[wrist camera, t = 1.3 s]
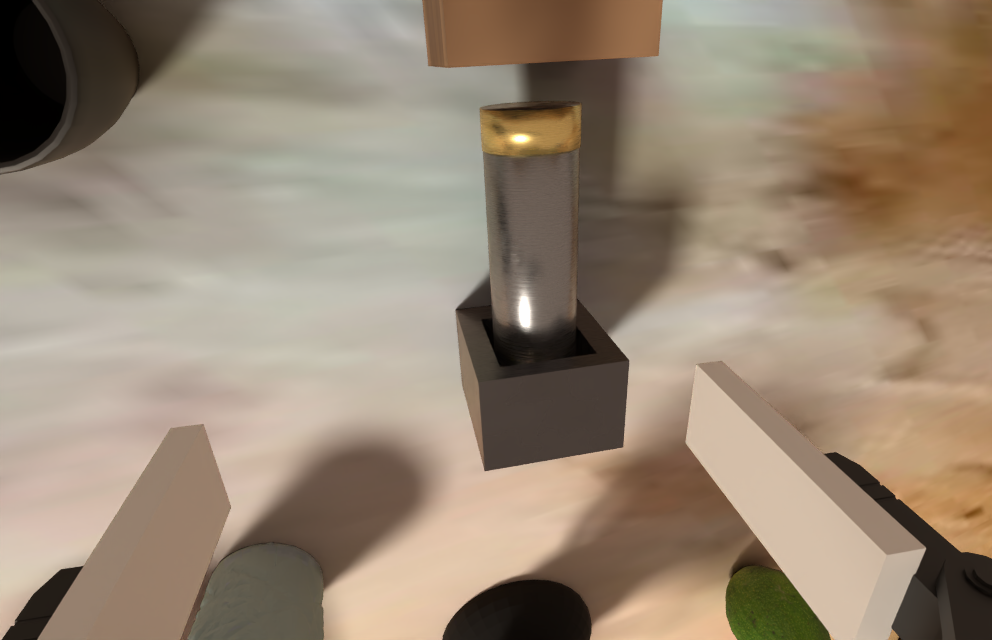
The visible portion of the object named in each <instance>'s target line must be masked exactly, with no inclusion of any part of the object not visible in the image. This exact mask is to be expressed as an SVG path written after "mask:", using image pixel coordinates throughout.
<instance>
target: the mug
mask: <svg viewBox="0 0 992 640" xmlns="http://www.w3.org/2000/svg"><path fill="white" fill-rule="evenodd" d="M138 82H139V62H138V57H137V53H136V50H135V48H134V45H133V43H132V41H131V39H130V37H129V36H128V34H127V33H126V31H125V29H124V28H123V26H122V25H121V24H120V23H119V22H118V21H117V20H116V19H115V18H114V17H113V16H112V15H111V14H110V13H109V12H108V11H107V10H106V9H105V8H104V7H103V6H102V5H101V4H100V3H99V2H98V1H97V0H0V175H1V174H6V173H11V172H17V171H22V170H26V169H29V168H32V167H36V166H39V165H42V164H45V163H49V162H52V161H55V160H58V159H61V158H64V157H66V156H68V155H70V154H72V153H75V152H77V151H79V150H81V149H83V148H85V147H87V146H88V145H90V144H91V143H93V142H94V141H96V140H97V139H98V138H99V137H100V136H101V135H103V134H104V133H105V132H106V131H107V130H109V129H110V128H111V127H112V126H113V125H114V124H115V123H116V122H117V120H118V119H119V118H120V116H121V115H122V113H123V112H124V110H125V109H126V107H127V106H128V104H129V102H130V100H131V98H132V96H133V95H134V93H135V91H136V88H137V85H138Z"/></svg>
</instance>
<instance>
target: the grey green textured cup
mask: <svg viewBox="0 0 992 640" xmlns="http://www.w3.org/2000/svg"><path fill="white" fill-rule="evenodd" d="M322 600H323V575H322V571H321V568H320V566H319V564H318V563H317V561H316V560H315V559H314V558H313V557H312V556H311V555H310V554H308V553H307V552H305V551H303V550H301V549H299V548H297V547H295V546H291V545H286V544H280V543H277V544H274V543H273V542H271V543H266V544H258V545H252V546H249V547H246V548H243V549H240V550H238V551H236V552H235V553H232V554H230V556H227V557H226V558H225V559H223V560H222V561H221V562H220V563H219V564H218V566H217V567H216V569H215V570H214V572H213V574H212V576H211V578H210V580H209V583H208V586H207V588H206V591H205V595H204V598H203V600H202V602H201V605H200V610H199V611H198V612H197V615H196V620H195V621H194V623H193V626H192V628H191V632H190V634H189V636H188V640H323V639H324V631H323V624H324V621H323V607H322V605H321V604H322Z"/></svg>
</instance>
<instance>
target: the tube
mask: <svg viewBox="0 0 992 640" xmlns="http://www.w3.org/2000/svg"><path fill="white" fill-rule="evenodd" d="M581 106H582V104H581V103H579V102H571V101H534V102H516V103H504V104H495V105H488V106H484V107H481V108H480V124H481V141H482V151H483V160H484V177H485V195H486V213H487V231H488V249H489V267H490V285H491V303H492V320H493V338H494V354H495V356H496V359H497V361H498V364H499V366H500V367H506V366H513V365H520V364H527V363H534V362H541V361H548V360H555V359H562V358H569V357H575V354H576V305H577V255H578V205H579V155H580V146H581Z"/></svg>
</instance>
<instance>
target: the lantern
mask: <svg viewBox="0 0 992 640" xmlns="http://www.w3.org/2000/svg"><path fill="white" fill-rule="evenodd" d="M590 636H591V619H590V614H589V611H588V608H587V606H586V604H585V603H584V601H583V600H582V599H581V597H580V596H579V595H578V594H577V593H576V592H575V591H573V590H572V589H571V588H569V587H567V586H565V585H562V584H560V583H556V582H552V581H545V580H526V581H518V582H513V583H509V584H504V585H501V586H499V587H496V588H493V589H491V590H488V591H486V592H485V593H483V594H481V595H479V596H477V597H475V598H474V599H473V600H471V601H470V602H468V603H467V604H466V605H464V606H463V607H462V608H461V609H460V610H459V611H458V612H457V613H456V614H455V615H454V616H453V618H452V619H451V621H450V622H449V624H448V625H447V627H446V630H445V632H444V635H443V639H442V640H590Z"/></svg>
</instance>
